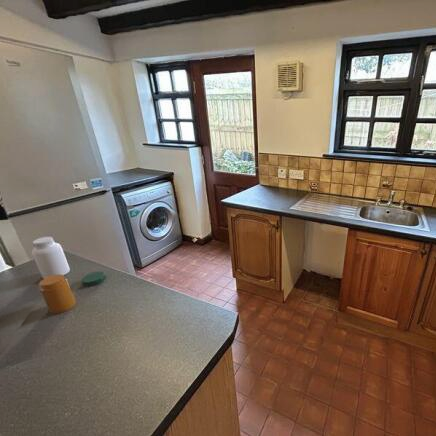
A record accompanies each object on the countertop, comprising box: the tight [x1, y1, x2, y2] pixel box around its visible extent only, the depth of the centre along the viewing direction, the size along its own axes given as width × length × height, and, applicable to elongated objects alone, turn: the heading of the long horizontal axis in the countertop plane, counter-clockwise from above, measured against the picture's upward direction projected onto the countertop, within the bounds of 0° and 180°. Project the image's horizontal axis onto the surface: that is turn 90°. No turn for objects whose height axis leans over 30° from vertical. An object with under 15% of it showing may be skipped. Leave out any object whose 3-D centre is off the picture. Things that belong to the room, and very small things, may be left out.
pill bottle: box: [31, 236, 71, 279], centre depth 91 cm, size 8×8×15 cm
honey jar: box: [38, 274, 77, 315], centre depth 76 cm, size 6×6×11 cm
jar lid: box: [81, 271, 106, 287], centre depth 90 cm, size 7×7×2 cm
